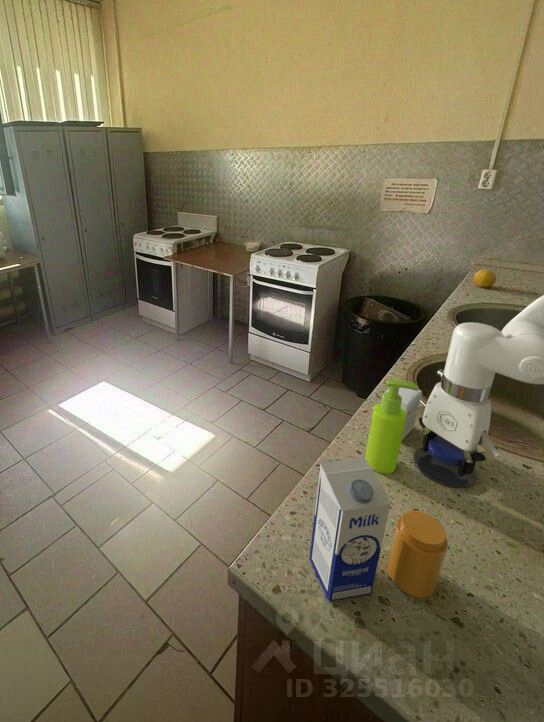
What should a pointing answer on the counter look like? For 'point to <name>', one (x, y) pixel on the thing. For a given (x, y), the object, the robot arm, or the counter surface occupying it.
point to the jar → (417, 553)
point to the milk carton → (348, 527)
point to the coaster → (442, 471)
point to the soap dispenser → (387, 428)
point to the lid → (445, 451)
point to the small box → (409, 407)
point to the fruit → (484, 278)
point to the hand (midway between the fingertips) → (445, 460)
